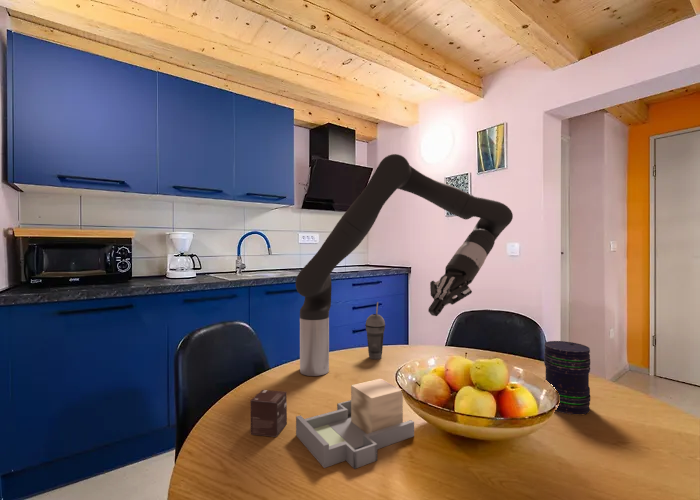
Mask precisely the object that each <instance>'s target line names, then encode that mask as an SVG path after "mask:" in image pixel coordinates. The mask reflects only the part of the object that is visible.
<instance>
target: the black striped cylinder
mask: <svg viewBox="0 0 700 500" xmlns="http://www.w3.org/2000/svg"><path fill="white" fill-rule="evenodd" d="M590 353H591V348H590V347H589V346H586V345H585V344H581V343H577V342H572V341H564V340H550V341H545V342H544V353H543V354H544V355H543V358H544V366H545V380H547V381H548V382H549V383H550V384H552V385H553V387H555V389H556V390H557V391H558V393H559V395H560V403H559V406H558V408H557V410H555V412H558V413H562V414H566V413H567V414H566V415H571V414H585V415H587V414H586V413H588V412H589V411H590V412H591V409H590V408H591V407H590V405H591V391H590V390H591V388H590V385H589V384H590V381H589V380H590V378H589V377H590V375H589V374H590V372H591V354H590ZM590 412H589V413H590ZM589 413H588V414H589Z"/></svg>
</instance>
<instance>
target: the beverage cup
mask: <svg viewBox="0 0 700 500" xmlns="http://www.w3.org/2000/svg"><path fill="white" fill-rule="evenodd" d="M378 308H379V301H377V302H376V309H375V313H372V314H370V315H369V316H368V317H367V318H366V321H365V325H364V327H365V332H366V338H367V340H366V341H367V351H368V358H369V359H371V360H380V359H382V356H383V346H384V337H385V336H384V335H385V333H384V332H385V329H386V321H385V319H384V318H383V316H382V315H380V314H378V311H379V309H378Z"/></svg>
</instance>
